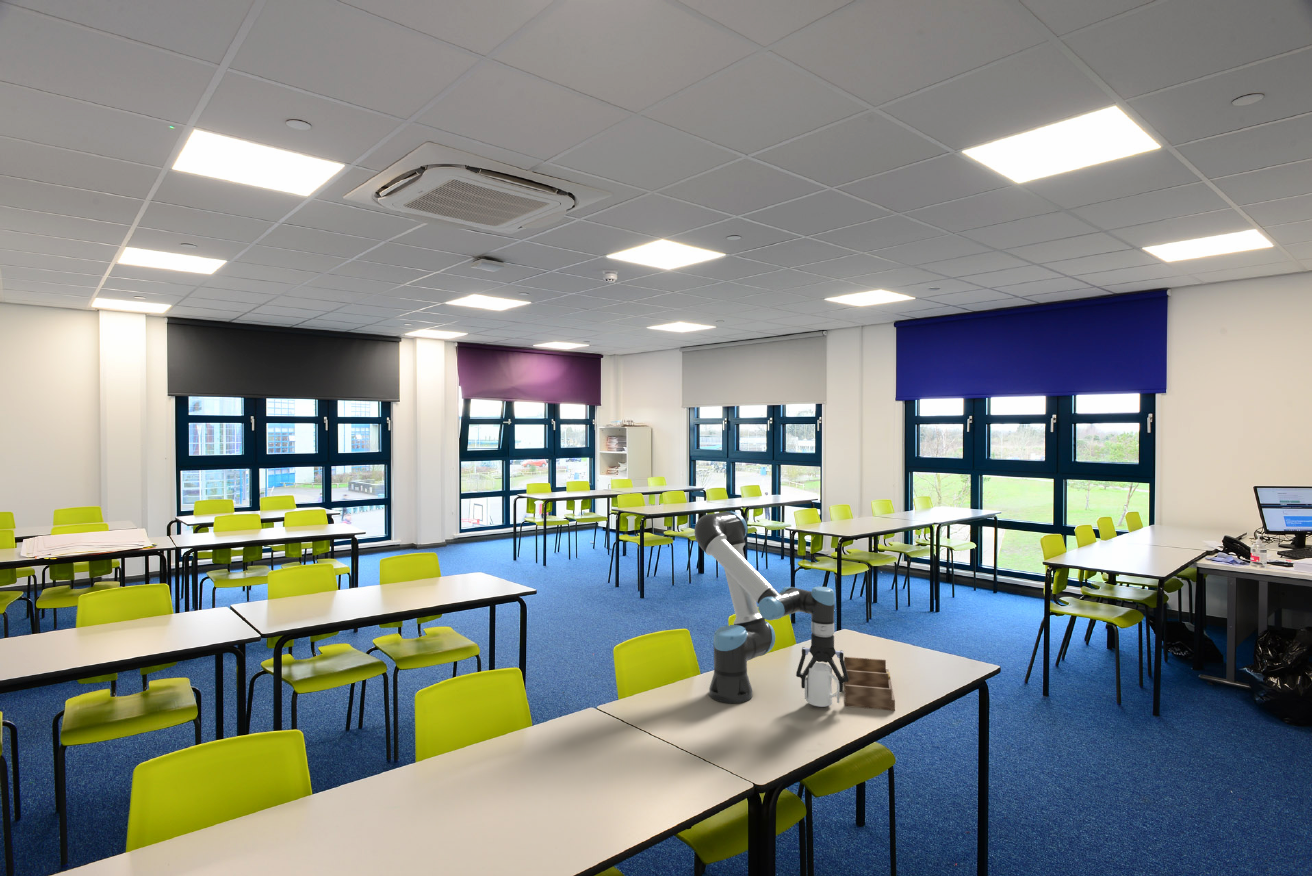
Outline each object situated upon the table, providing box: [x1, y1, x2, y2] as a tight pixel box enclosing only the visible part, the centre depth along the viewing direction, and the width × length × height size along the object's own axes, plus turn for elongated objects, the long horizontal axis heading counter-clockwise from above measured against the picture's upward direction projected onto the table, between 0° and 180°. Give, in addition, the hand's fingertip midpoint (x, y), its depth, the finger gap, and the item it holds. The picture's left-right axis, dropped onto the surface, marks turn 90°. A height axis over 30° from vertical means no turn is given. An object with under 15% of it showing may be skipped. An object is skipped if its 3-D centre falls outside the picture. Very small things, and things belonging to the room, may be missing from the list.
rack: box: [843, 656, 896, 711], centre depth 238 cm, size 16×30×7 cm, turn 165°
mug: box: [805, 661, 840, 708], centre depth 225 cm, size 12×8×12 cm
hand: (821, 699), depth 225 cm, fingers closed on mug, 10 cm apart
